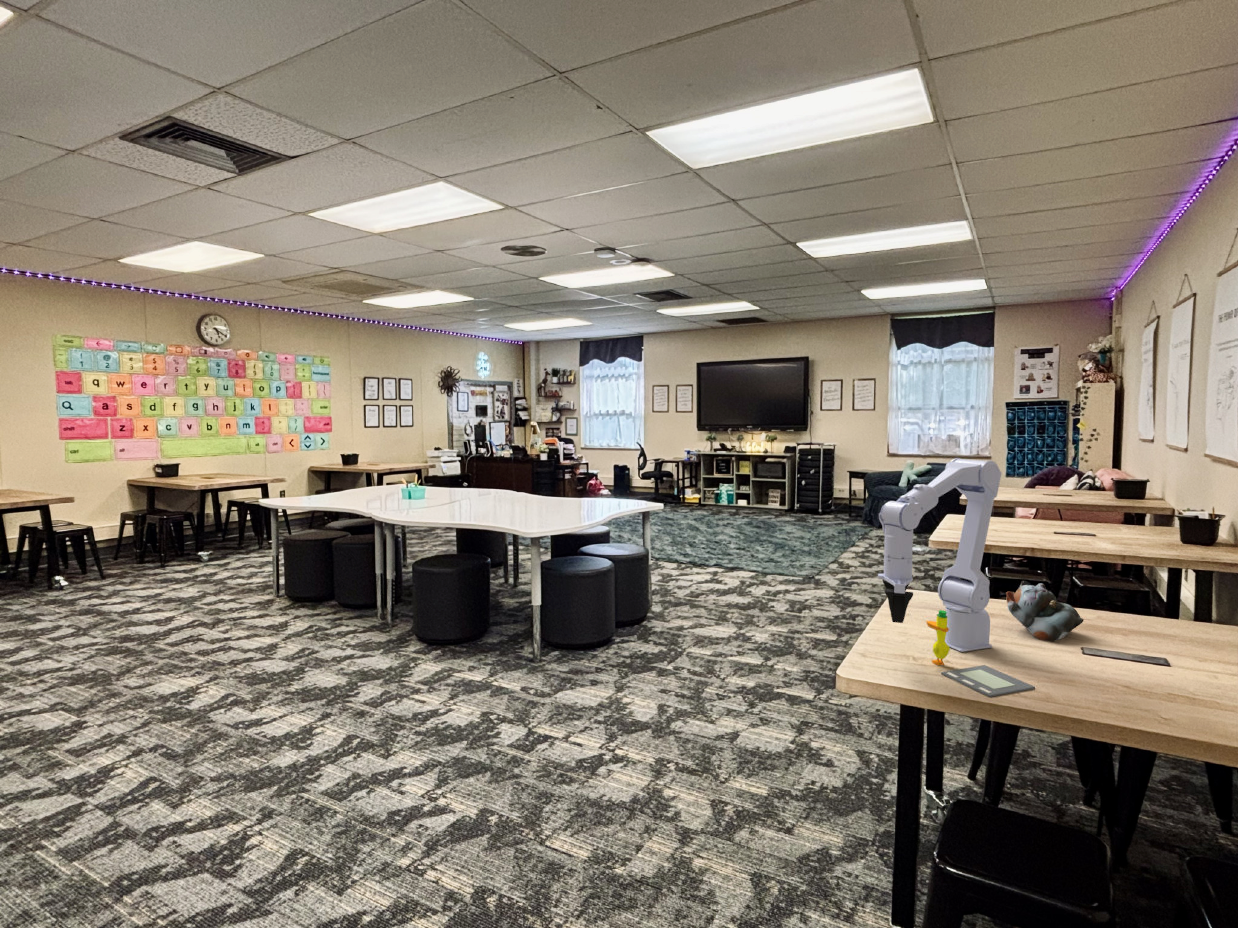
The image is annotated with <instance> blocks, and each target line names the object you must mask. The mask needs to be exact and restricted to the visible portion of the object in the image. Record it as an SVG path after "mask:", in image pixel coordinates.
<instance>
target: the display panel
mask: <svg viewBox="0 0 1238 928" xmlns="http://www.w3.org/2000/svg"><path fill="white" fill-rule="evenodd" d="M940 674H941V675H942V676H944V677H947V678H949V679H951V680H953V681H955V682H957V683H958V684H961V685H963V686H965V687H967V688H969V689H971V690H973V691H975V692H978V693H980V694H982V695H984V696H986V697H988V698H992V697H997V696H1003V695H1009V694H1014V693H1019V692H1025V691H1029V690H1034V689H1036V686H1035V685H1032V684H1029V683H1028V682H1026V681H1024V680H1021V679H1019V678H1016V677H1013V676H1011V675H1009V674H1007V673H1004V672H1002V671H1000V670H997V669H995V668H993V667H990V666H989V665H988V666H987V665H985V664H984V665H976V666H971V667H965V668H958V669H957V668H956V669H952V670H947V671H941V672H940Z"/></svg>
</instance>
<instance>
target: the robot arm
mask: <svg viewBox="0 0 1238 928" xmlns="http://www.w3.org/2000/svg"><path fill="white" fill-rule="evenodd" d="M1001 478H1002V472H1001V469H1000V468H999V466H998V464H997V463H996V462H995V461H994V460H980V459H979V460H978V459H968V458H967V459H965V458H959V457H956V458H953V459H951V461H949V462H946V465H945V467H944V470H943V471H941V473H940V474H939V475H938V476H936V477H935V478H934V479H933V480H931V481H930V482H929V483H928V484H923V483H922V484H921V483H920V484H918V483H917V484H915V485H913V488H912V489H911V490H909V491H908V492H906V493H905V494H904V495H903V494H902V495H901V496H899V498H898V499H897V500H896V501H895V500H889V501H887V502H886V503H884V504H883V505H882V507H881V509H880V512H879V513H878V519H879V522H880V524H881V526H882V533H883V534H884V542H883V543H884V547H883V550H884V552H883V573H878V574H877V579H879V580H880V579H882V583H883V585H884V587H885V588H884V593H885V595H886V597H887V601H888V606H889V607H888V608H889V611H890V617H891V621H892V623H896V624H897V623H898V624H899V623H900V624H903V623H904V621H905V617H906V613H907V609H908V606H909V603H910V601H911V600H912V598H913V596H914V592H913V591H907V589H908V587H909V585H910V583H912V582H913V580H914V579H913V578H914V577H913V576H912V575H913V547H914V546H913V545H914V544H913V543H914V529H917V527H918V526H919V524H920V521H921V519H922V518H923V516H924V515H925V514H926V513H928V512H929V511H931V510H932V509H933V508H935V507H936V506H937V504H938V503H939V497H942V496H944V494H946V493H948V492H950V491H952V490H953V489H957V490H958V492H959V493H960V494H962V495H964V497H965V498H966V499H967V504H966V510H965V513H964V519H963V523H962V529H961V534H960V539H959V544H958V548H957V553H956V559H955V562H954V563H955V564H954V565H952V566H950V567H949V568H947V569H945V570H944V571H943V576H942V579H941V580H940V582H939V584H938V586H937V594H938V597H939V599H940V601H942V605H943V606H944V607H945V610H944V611H946V612H947V614H946V616H947V627H948V629H949V630H948V632H946V638H945V642H946V644H947V645H948V646H949V647H950V649H951V648H952V649H953V650H956V651H959V652H961V653H962V652H963V653H964V652H968V651H969V652H970V651H971V652H972V651H977V650H983V649H988V648H989V649H990V648H993V645H992V644H990V633H991V618H990V615H989V613H988V611H987V610H986V609H985V608H987V606H988V605H989V602H990V598H991V597H990V594H991V593H990V581H991V580H990V579H989V578H988V577H987V576H986V575H985V574H984V573H983V572H982V571H981V567H982V562H983V556H984V553H985V552H984V550H985V547H986V542H987V541H986V540H987V538H988V533H989V532H988V531H989V526H990V522H991V516H992V512H993V506H994V503H995V499H996V498H997V497H998V493H999V492H998V491H999V487H1000V482H1001ZM963 579H964V580H963ZM967 580H968V581H967ZM936 641H937V638H935V642H936Z"/></svg>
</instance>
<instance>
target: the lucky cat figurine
mask: <svg viewBox="0 0 1238 928" xmlns="http://www.w3.org/2000/svg"><path fill="white" fill-rule="evenodd" d="M1005 595H1006V597H1005V598H1006V603H1007V611H1009V613H1010V614H1011V616H1013V617H1014V618H1015V620H1017V621H1018V622H1019V623H1020V624H1021V626H1022V627H1024V628H1026V630H1028V631H1029V632H1030V633H1031V635H1032V636H1033V637H1034V638H1036V639H1038V640H1041V641H1046V642H1053V643H1054V642H1056V641H1059V640H1061V639H1064V638H1066V637H1068V635H1070V632H1072V631H1073V630H1074V629H1076V628H1077V627H1078V626H1080V625H1082V624H1083V622H1084V621H1085V620H1084V618H1082V617H1081V616H1080V614H1079V612H1078V611H1077V609H1076V608H1074V607H1073V606H1072V605H1070V604H1068V603H1064V602H1058V600H1057V599H1058V598H1056V596H1055V595H1054V593H1053V592H1052V591H1050V590H1048V589H1047V588H1046V586H1045V584H1044V583H1038V584H1036V585H1034V584H1032V583H1030V582H1028V581H1027V580H1022V581H1021V583H1020V585H1019V587H1018V589H1017V590H1016V591H1015V592H1014V591H1007V592H1005Z"/></svg>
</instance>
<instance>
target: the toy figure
mask: <svg viewBox="0 0 1238 928" xmlns="http://www.w3.org/2000/svg"><path fill="white" fill-rule="evenodd" d="M946 614H947V612H946V611H945V610H944V609H943V610H942V609H940V610H938V614H936V621H934V620H927V621H925V622H926V625H927V627H929V628H931V629H933V630H935V632H936V639H937V641H936V640H935V642H934V643H933V644H932V652H933V655H934V656H935V658H936V659H932V660H931V663H932V664H934V665H937V666H944V665H945V663H944V662H943V660H944V659H945V658H946V657H947V656H948V655H949V652H950V650H951V647H949V646H948V645H947V644H946V642H945V638H946V632H948V630H949V629H948V627H947V616H946Z"/></svg>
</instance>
